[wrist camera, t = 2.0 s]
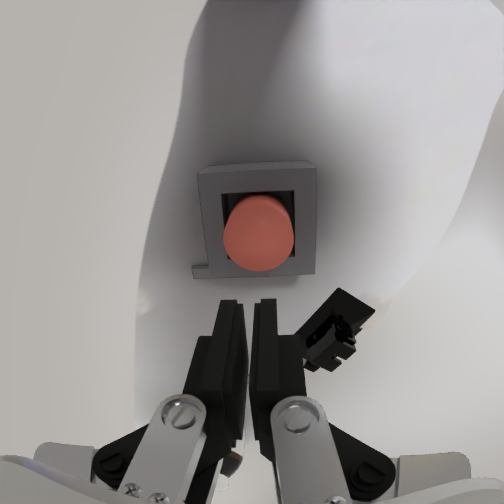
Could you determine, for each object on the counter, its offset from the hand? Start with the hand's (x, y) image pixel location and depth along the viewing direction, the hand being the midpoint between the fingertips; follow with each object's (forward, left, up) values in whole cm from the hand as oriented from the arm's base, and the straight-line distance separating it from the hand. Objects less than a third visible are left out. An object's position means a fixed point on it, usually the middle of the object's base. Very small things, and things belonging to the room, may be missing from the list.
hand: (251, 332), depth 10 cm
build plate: (+13, +6, -16) cm, 22 cm away
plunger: (0, 0, -13) cm, 13 cm away
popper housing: (0, 0, -15) cm, 15 cm away
